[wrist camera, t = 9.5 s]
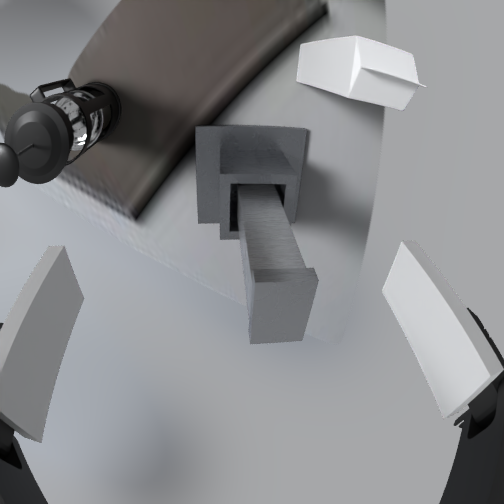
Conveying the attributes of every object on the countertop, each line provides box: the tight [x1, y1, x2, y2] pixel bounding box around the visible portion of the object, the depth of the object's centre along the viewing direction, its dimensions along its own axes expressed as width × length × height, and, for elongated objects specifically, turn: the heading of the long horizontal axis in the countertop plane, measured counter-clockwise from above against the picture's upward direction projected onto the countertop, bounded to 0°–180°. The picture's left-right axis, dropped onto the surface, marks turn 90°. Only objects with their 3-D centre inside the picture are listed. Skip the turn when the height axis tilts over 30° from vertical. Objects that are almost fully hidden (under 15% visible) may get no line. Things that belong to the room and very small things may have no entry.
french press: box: [0, 78, 121, 187], centre depth 26 cm, size 12×9×23 cm
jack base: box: [196, 125, 307, 240], centre depth 40 cm, size 16×16×12 cm
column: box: [237, 184, 319, 344], centre depth 31 cm, size 7×4×20 cm, turn 177°
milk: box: [296, 36, 427, 111], centre depth 27 cm, size 6×6×22 cm
